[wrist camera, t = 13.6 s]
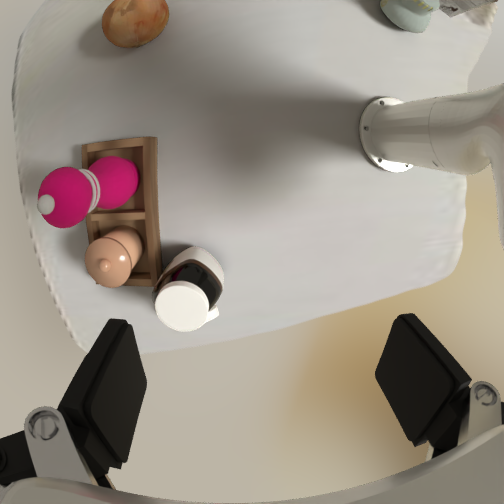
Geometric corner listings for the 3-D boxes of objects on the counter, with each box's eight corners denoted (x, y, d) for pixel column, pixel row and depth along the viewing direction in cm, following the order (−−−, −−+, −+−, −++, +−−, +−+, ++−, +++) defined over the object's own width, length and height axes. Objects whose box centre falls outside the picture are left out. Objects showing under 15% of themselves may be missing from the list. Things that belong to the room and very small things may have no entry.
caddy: (157, 137, 36) (150, 136, 32) (163, 276, 44) (158, 286, 40) (93, 144, 35) (81, 145, 32) (105, 274, 43) (96, 284, 39)
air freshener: (383, -14, 26) (408, -35, 17) (418, 8, 28) (446, -7, 18) (374, 19, 30) (402, -2, 20) (411, 43, 31) (444, 29, 22)
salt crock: (144, 222, 39) (122, 242, 30) (148, 265, 42) (130, 293, 33) (104, 223, 39) (76, 242, 30) (110, 265, 41) (85, 291, 32)
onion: (167, -2, 27) (153, -32, 18) (180, 40, 31) (167, 13, 21) (112, 22, 28) (87, -1, 18) (122, 65, 31) (95, 46, 22)
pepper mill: (97, 196, 37) (14, 236, 18) (106, 151, 35) (18, 159, 16) (138, 207, 38) (68, 256, 19) (149, 160, 36) (77, 171, 17)
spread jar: (198, 233, 42) (186, 263, 31) (246, 283, 45) (251, 324, 34) (148, 280, 44) (126, 319, 33) (196, 323, 47) (188, 368, 36)
